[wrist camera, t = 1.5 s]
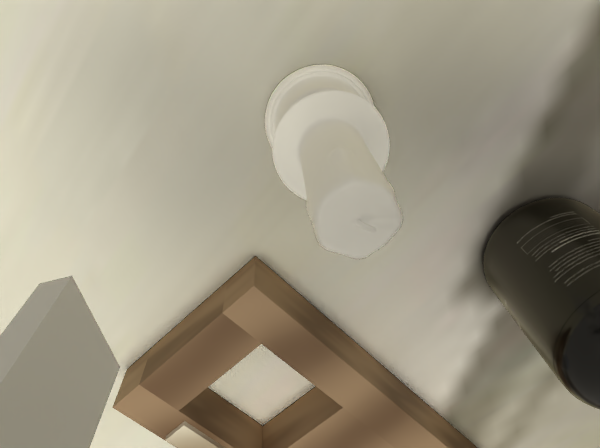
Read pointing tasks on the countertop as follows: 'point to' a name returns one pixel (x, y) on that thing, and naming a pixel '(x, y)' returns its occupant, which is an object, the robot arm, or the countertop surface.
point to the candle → (334, 158)
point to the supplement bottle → (553, 286)
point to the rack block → (291, 349)
